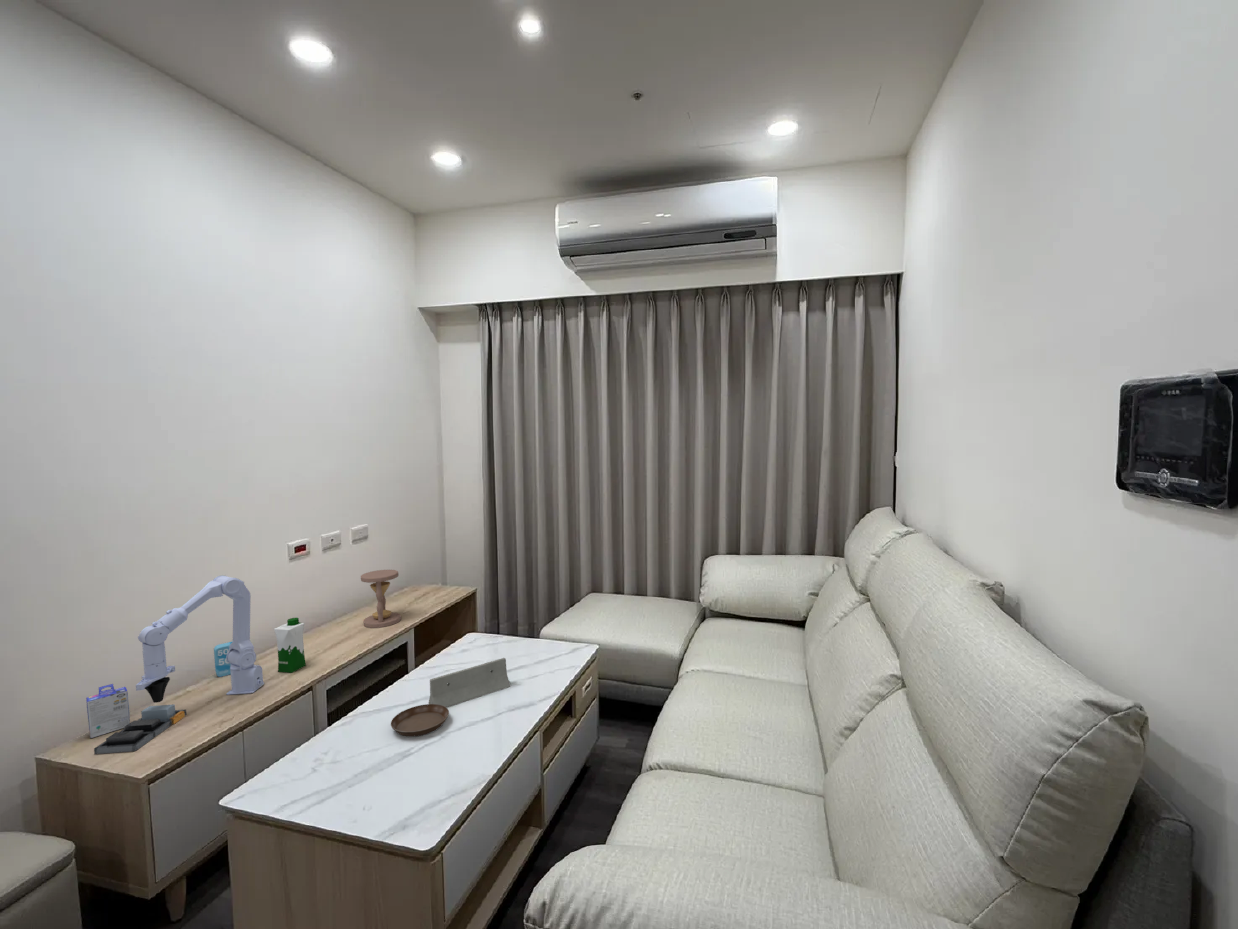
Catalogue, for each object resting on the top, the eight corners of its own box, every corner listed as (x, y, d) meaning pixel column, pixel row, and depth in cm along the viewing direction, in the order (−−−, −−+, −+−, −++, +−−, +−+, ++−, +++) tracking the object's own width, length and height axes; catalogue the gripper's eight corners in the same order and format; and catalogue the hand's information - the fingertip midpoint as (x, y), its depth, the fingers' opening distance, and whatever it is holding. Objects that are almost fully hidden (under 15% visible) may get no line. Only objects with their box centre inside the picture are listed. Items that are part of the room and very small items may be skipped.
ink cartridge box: (129, 720, 184) (125, 679, 184) (131, 726, 181) (127, 683, 180) (88, 733, 177) (84, 690, 176) (90, 739, 173) (86, 695, 173)
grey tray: (187, 714, 187) (187, 704, 187) (136, 751, 166) (135, 740, 165) (150, 716, 186) (149, 707, 186) (94, 754, 165) (93, 743, 164)
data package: (216, 678, 216) (214, 648, 216) (215, 674, 220) (213, 645, 219) (252, 668, 224) (250, 640, 223) (251, 665, 227) (249, 637, 227)
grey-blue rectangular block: (175, 718, 185) (174, 704, 185) (167, 724, 181) (166, 709, 181) (150, 720, 184) (149, 706, 184) (142, 726, 181) (141, 711, 181)
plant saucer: (392, 718, 181) (391, 709, 180) (448, 707, 187) (447, 699, 186) (389, 746, 164) (389, 736, 164) (450, 733, 170) (450, 724, 170)
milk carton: (309, 665, 226) (306, 617, 225) (291, 674, 217) (288, 625, 216) (292, 663, 228) (288, 616, 227) (273, 672, 219) (270, 624, 218)
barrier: (502, 680, 206) (501, 655, 205) (510, 687, 200) (509, 661, 200) (428, 704, 190) (426, 676, 189) (435, 712, 184) (433, 683, 183)
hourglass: (370, 617, 285) (367, 570, 283) (405, 615, 287) (402, 568, 285) (358, 629, 267) (355, 579, 266) (395, 626, 269) (392, 577, 268)
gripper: (158, 654, 189) (161, 692, 189) (124, 672, 174) (127, 713, 175) (180, 652, 189) (183, 690, 190) (147, 670, 175) (151, 711, 176)
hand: (158, 701), depth 183 cm, fingers closed
